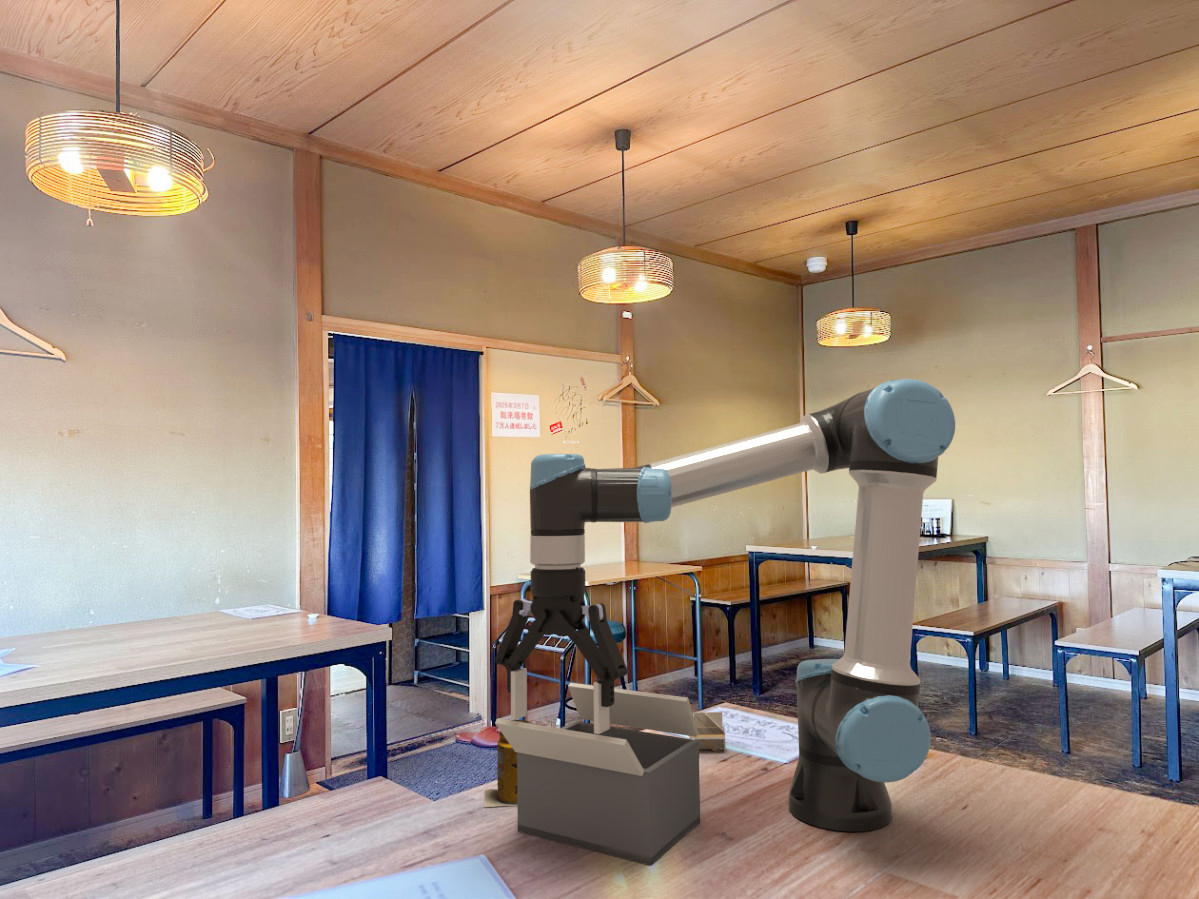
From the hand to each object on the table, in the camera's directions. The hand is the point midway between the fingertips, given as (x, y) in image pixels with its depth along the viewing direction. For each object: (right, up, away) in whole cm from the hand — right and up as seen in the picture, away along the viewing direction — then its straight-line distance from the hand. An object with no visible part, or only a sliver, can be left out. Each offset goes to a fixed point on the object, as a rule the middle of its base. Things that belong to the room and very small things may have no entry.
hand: (559, 724), depth 106 cm
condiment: (-9, -20, +22) cm, 31 cm away
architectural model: (+27, -22, +45) cm, 57 cm away
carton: (+7, -19, +10) cm, 22 cm away
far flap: (+10, -4, +17) cm, 20 cm away
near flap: (+1, -3, +2) cm, 4 cm away
